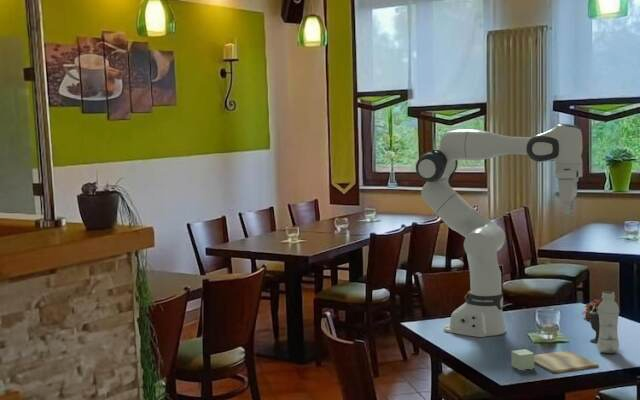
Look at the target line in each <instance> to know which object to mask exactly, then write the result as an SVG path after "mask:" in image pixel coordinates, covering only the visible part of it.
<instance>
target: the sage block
mask: <svg viewBox="0 0 640 400" xmlns="http://www.w3.org/2000/svg"><path fill="white" fill-rule="evenodd" d="M510 353H511V356H510V357H511V359H510V360H511V367H512V366H513V367H512V368H514V367H515V368H514V369H516V368H517V369H519V370H522V371H525V370H524V369H530V370H534V369H535V363H534V355H535V353H534V352H532V351H530V350H528V349H526V348H524V349H516V350H511V352H510ZM533 368H534V369H533ZM517 369H516V370H517ZM519 370H518V371H519Z"/></svg>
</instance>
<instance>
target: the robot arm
mask: <svg viewBox="0 0 640 400" xmlns="http://www.w3.org/2000/svg"><path fill="white" fill-rule="evenodd" d="M583 146H584V145H583V133H582V130H581V128H580V127H579V126H578V125H575V124H570V123H559V124H557V125H556V126H555V127H553V128H551V129H549V130H547V131H545V132H543V133H539V134H536V135H534V136H531V137H530V136H529V137H527V136H511V135H510V136H509V135H503V134H499V133H495V132H492V131H491V132H490V131H487V130H483V129H482V130H480V129H471V128H470V129H466V128H465V129H455V130H449V131H448V130H447V131H446V132H444V133H443V134H442V136H441V138H440V141H439V147H438V148H433V149H431V150H430V151H428V152H426V153H423V154H422V155H421V156H420V157H419V158H418V159H417V161H416V164H415V171H416V174H417V176H418V177H419V178H420V179H421V180H422V181H424V182H425V184H424V185H423V186H422V189H421V191H420V194H421V197H422V199H423V201H424V202H425V203H426V205H427V206H428V207H429V208H430V209H431V211H433V213H434V214H435V215H436V216H437V217H438V218H440V219H441V221H442V222H444V223H445V224H446V225H447V226H448V228H450V229H451V230H452V231H455V232H456V233H457V234H459V235H461V236H462V237H464V241H463V250H464V251H465V253H466V257H467V262H468V266H469V267H468V268H469V281H470V283H469V284H470V287H469V288H470V290H468V291H467V292H466V294H465V296H464V300H465V302H464V303H463V304H461V305H460V306H459V307H458V308H456V309H455V310H453V312H452V313H451V315H450V320H449V322H448V323H446V324H445V325H444V327H443V332H446V333H451V334H458V335H462V336H471V337H477V338H484V337H491V336H498V335H503V334H505V333H506V332H507V327H506V325H505V324H506V323H505V321H504V315H503V307H504V297H503V292H502V272H501V269H500V266H499V261H498V252H499V251H500V250H501V249H502V247H503V246H504V244H505V242H506V234H505V231H504V230H503V229H504V228H502V227H501V226H500V225H498V224H495V222H493V221H492V220H490V219H489V218H488V217H486V216H485V215H483V214H482V213H481V212H479V211H478V210H477V209H475V208H474V207H473V206H471V204H470V203H468V202H467V201H466V200H465V199H464V198H463V196H461V195H460V194H459V193H458V192H456V190H455V189H453V187H452V186H451V185H450V183H449V182H450V181H452V179H453V176H454V174H455V172H456V171H457V168H458V164H459V160H461V161H463V160H465V161H483V160H490V159H492V158H496V157H501V156H505V155H525V156H526V155H528V157H529V158H530V159H531V160H533V161H534V162H538V163H545V162H554V165H555V166H554V173H555V174H554V176H555V178H556V179H557V183H558V184H557V185H558V195H559V200H560V202H562V203H563V212H564V214H565V215H570V213H571V212H572V211H573V210H574V200H575V198H576V197H577V194H578V182H579V178H582V177H583V159H582V154H583V150H584V149H583Z"/></svg>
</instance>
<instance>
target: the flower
mask: <svg viewBox="0 0 640 400" xmlns="http://www.w3.org/2000/svg"><path fill="white" fill-rule="evenodd" d="M602 299H603V298H600V299H596V298H595V299H594V300H593V301H590V302H589V303H586V305H585V306H583V307H584V308H585V310H583V311H582V312H581V314H582V315H584V317H585V318H586V319H588V320H589V319H590V315H589V314H588V312H589V311H590V305H591V306H594V305H598V303H600V302H602Z"/></svg>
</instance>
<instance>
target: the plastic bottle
mask: <svg viewBox="0 0 640 400" xmlns="http://www.w3.org/2000/svg"><path fill="white" fill-rule="evenodd" d="M601 295H602V296H601V299H603V300H602V302H601V303H600V304H599V306H598V314H599V324H600V330H599V338H598V343H596V344H597V350H599V352H601V353H603V354H616V353H617V352H618V351H619V349H620V348H619V347H620V342H619V335H618V324H619V323H618V322H619V314H620V306H619V304H618V303H617V302H616V301H615V299H616V297H615V295H616V294H615V292H614V291H613V292H612V291H603V292H602V294H601Z"/></svg>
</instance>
